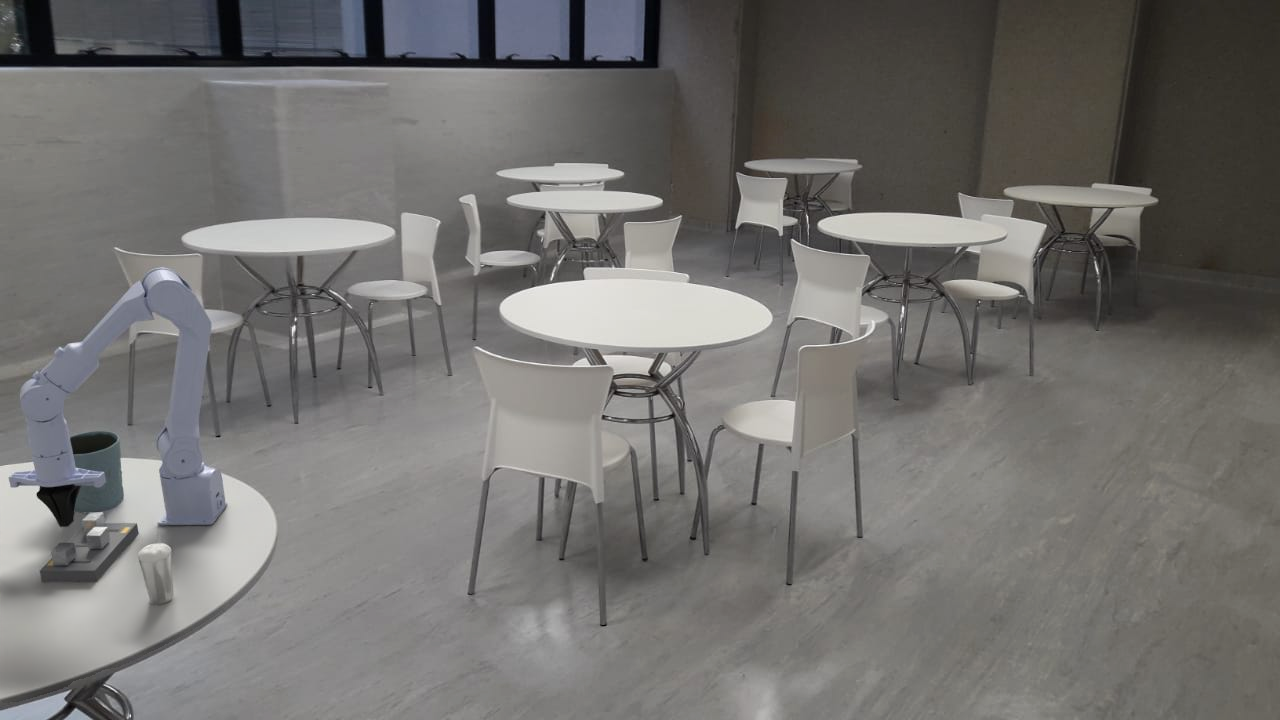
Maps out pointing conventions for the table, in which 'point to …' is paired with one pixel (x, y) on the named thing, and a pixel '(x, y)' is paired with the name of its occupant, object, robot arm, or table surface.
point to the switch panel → (91, 556)
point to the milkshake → (157, 571)
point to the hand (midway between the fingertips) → (66, 523)
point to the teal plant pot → (98, 469)
